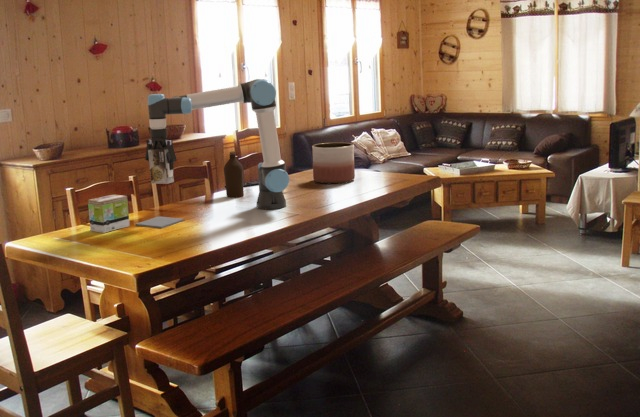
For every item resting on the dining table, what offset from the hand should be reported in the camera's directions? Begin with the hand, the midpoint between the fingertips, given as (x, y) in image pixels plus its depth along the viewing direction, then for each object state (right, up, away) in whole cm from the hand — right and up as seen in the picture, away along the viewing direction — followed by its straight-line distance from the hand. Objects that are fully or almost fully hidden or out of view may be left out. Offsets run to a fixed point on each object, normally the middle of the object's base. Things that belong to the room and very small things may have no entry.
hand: (162, 176), depth 315 cm
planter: (+82, +2, +98) cm, 128 cm away
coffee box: (0, -3, +1) cm, 3 cm away
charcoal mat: (-2, -22, +4) cm, 22 cm away
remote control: (+32, -2, +94) cm, 99 cm away
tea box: (-23, -25, -4) cm, 34 cm away
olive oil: (+27, -9, +61) cm, 67 cm away
